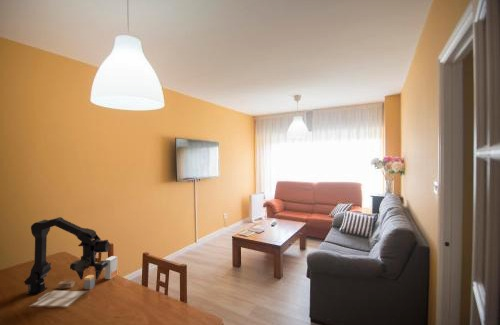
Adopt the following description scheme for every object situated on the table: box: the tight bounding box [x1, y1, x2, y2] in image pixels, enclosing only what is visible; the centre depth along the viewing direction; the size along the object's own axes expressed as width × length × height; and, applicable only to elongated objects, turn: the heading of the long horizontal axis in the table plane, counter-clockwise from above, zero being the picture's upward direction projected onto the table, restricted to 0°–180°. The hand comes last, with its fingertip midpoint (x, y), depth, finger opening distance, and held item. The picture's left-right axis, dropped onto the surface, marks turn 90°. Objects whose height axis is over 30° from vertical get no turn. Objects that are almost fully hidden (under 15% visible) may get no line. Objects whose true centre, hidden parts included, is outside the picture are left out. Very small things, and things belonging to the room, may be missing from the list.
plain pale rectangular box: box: [57, 280, 76, 290], centre depth 134 cm, size 7×3×3 cm, turn 98°
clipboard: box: [28, 289, 89, 309], centre depth 123 cm, size 20×14×1 cm
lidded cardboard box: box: [83, 274, 96, 290], centre depth 133 cm, size 4×4×6 cm
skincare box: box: [104, 255, 118, 280], centre depth 145 cm, size 6×4×12 cm
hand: (89, 279), depth 133 cm, fingers open, 9 cm apart
